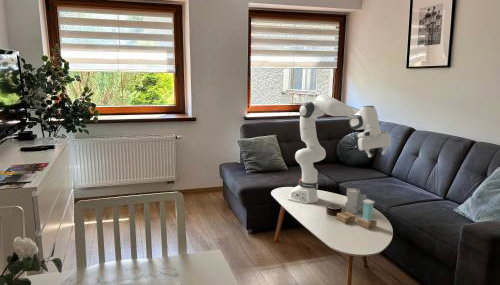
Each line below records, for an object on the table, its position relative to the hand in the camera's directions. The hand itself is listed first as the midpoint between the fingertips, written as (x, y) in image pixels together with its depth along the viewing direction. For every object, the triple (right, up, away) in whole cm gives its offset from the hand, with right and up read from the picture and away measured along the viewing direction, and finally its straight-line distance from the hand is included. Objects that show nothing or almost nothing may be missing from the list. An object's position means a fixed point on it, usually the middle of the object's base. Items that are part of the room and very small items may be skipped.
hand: (377, 155), depth 215 cm
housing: (-3, -40, +10) cm, 41 cm away
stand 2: (-3, -43, +11) cm, 45 cm away
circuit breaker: (-3, -39, +33) cm, 51 cm away
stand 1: (-14, -42, +18) cm, 48 cm away
